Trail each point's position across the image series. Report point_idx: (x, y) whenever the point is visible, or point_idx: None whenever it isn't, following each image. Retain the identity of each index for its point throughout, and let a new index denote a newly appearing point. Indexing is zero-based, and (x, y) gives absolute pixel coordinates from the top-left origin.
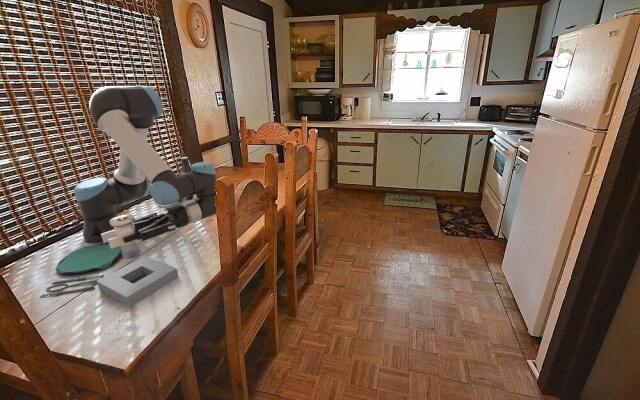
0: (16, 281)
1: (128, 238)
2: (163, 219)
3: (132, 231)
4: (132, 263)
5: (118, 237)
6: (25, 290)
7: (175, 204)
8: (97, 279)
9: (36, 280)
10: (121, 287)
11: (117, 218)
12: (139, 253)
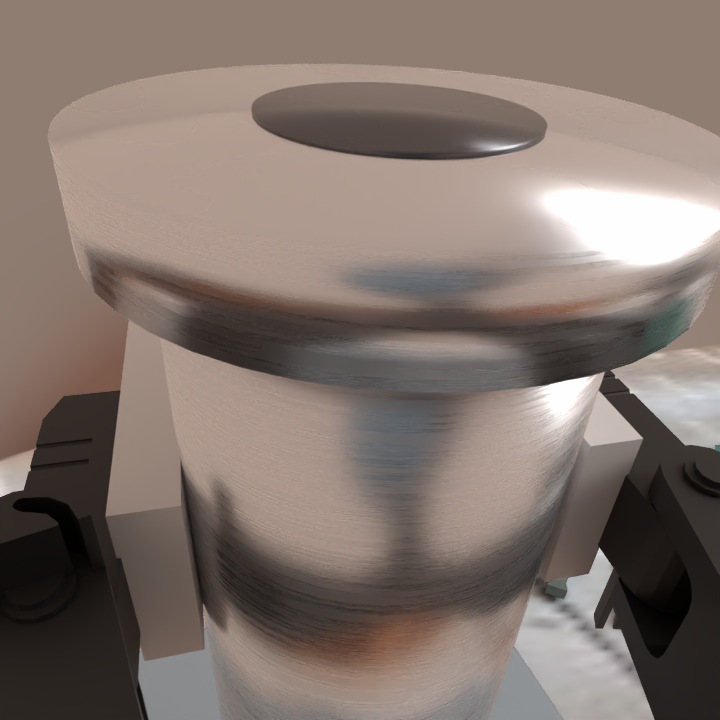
0: (713, 352)
1: (39, 458)
2: None
3: (152, 493)
4: None
5: (131, 326)
6: (618, 371)
7: None
8: (562, 583)
9: (699, 392)
10: (213, 675)
11: (505, 101)
12: None
